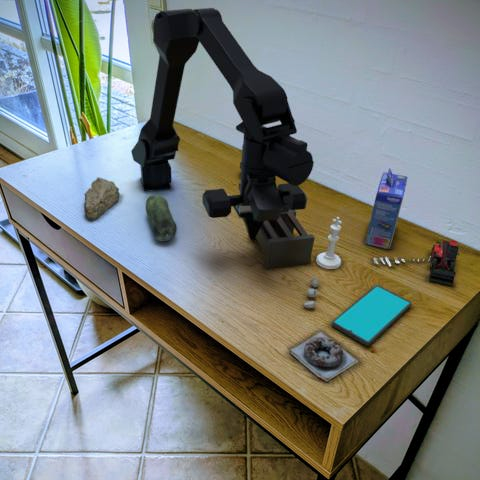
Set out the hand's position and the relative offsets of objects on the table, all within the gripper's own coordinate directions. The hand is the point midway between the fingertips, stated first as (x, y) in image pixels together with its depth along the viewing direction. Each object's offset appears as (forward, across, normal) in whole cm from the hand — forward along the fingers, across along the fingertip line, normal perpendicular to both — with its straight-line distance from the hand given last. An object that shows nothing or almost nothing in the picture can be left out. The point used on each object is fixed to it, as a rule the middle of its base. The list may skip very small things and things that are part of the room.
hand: (251, 238), depth 97 cm
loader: (+4, +36, -13) cm, 39 cm away
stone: (-1, -29, +26) cm, 38 cm away
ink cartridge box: (+4, +30, +1) cm, 30 cm away
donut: (+4, +3, -30) cm, 31 cm away
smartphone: (+3, +15, -23) cm, 28 cm away
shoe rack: (+3, +6, 0) cm, 7 cm away
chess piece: (+4, +14, -6) cm, 16 cm away
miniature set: (+4, +29, -9) cm, 31 cm away
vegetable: (+2, -18, +13) cm, 22 cm away
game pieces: (+2, +8, -16) cm, 18 cm away
